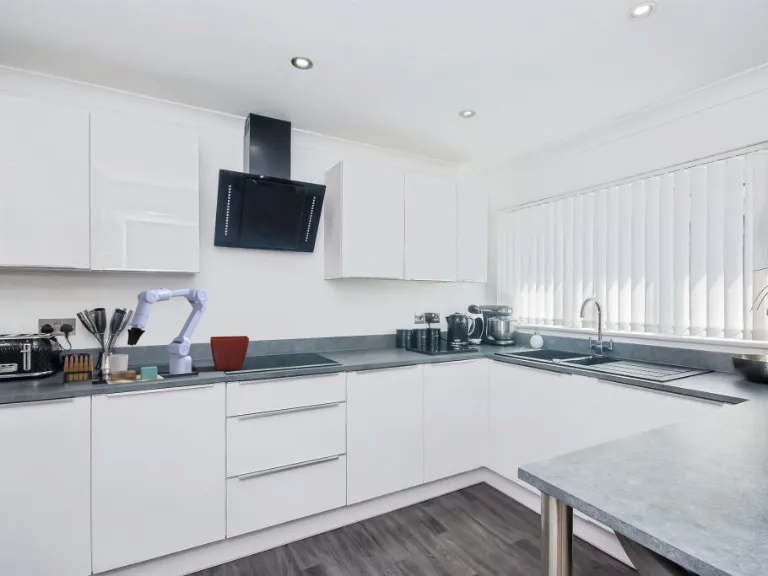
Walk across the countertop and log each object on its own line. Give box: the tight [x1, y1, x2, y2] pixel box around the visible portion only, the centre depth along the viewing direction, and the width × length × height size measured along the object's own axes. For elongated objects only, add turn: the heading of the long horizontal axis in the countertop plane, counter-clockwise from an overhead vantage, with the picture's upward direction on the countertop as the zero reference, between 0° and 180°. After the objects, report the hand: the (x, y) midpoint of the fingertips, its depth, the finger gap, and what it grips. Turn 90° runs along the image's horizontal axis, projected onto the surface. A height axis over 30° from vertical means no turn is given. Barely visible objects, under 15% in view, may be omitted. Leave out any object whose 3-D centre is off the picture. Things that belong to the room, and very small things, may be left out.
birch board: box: [104, 373, 165, 385], centre depth 186 cm, size 21×17×1 cm
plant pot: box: [209, 335, 250, 371], centre depth 220 cm, size 19×19×17 cm
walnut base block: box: [110, 369, 137, 381], centre depth 185 cm, size 9×7×3 cm
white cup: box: [108, 353, 129, 376], centre depth 199 cm, size 8×8×10 cm
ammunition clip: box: [62, 354, 94, 385], centre depth 182 cm, size 11×2×12 cm, turn 119°
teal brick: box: [139, 365, 158, 381], centre depth 186 cm, size 6×4×5 cm
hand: (131, 344), depth 182 cm, fingers open, 7 cm apart
